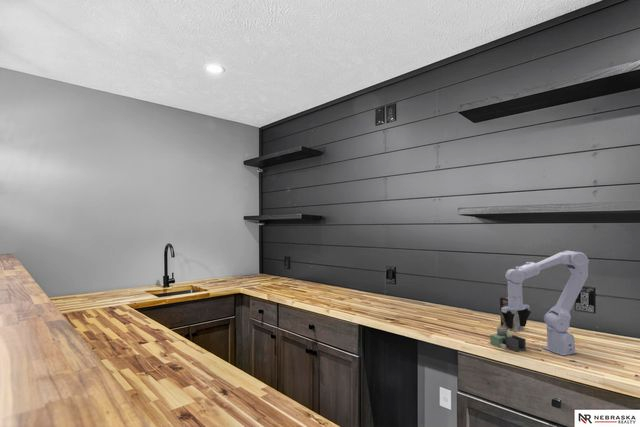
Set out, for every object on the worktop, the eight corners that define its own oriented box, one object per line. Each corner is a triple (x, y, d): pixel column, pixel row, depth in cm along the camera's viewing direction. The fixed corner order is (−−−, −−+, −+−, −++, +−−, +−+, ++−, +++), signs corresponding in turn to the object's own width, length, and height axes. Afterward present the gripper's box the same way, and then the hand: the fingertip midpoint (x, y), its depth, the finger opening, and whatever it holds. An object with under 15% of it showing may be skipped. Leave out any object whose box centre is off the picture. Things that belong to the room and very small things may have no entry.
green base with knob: (520, 346, 154) (520, 330, 154) (504, 349, 151) (503, 333, 151) (506, 341, 161) (506, 326, 161) (490, 343, 158) (489, 328, 158)
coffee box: (500, 327, 182) (499, 297, 183) (509, 326, 185) (508, 296, 185) (515, 332, 174) (514, 300, 174) (524, 330, 176) (523, 299, 177)
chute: (505, 347, 153) (505, 336, 153) (513, 346, 155) (513, 334, 155) (517, 352, 147) (516, 340, 147) (525, 350, 149) (525, 339, 149)
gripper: (510, 299, 146) (511, 331, 145) (535, 296, 151) (536, 327, 150) (497, 296, 153) (498, 327, 152) (521, 293, 157) (522, 323, 157)
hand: (516, 327), depth 152 cm, fingers open, 7 cm apart
